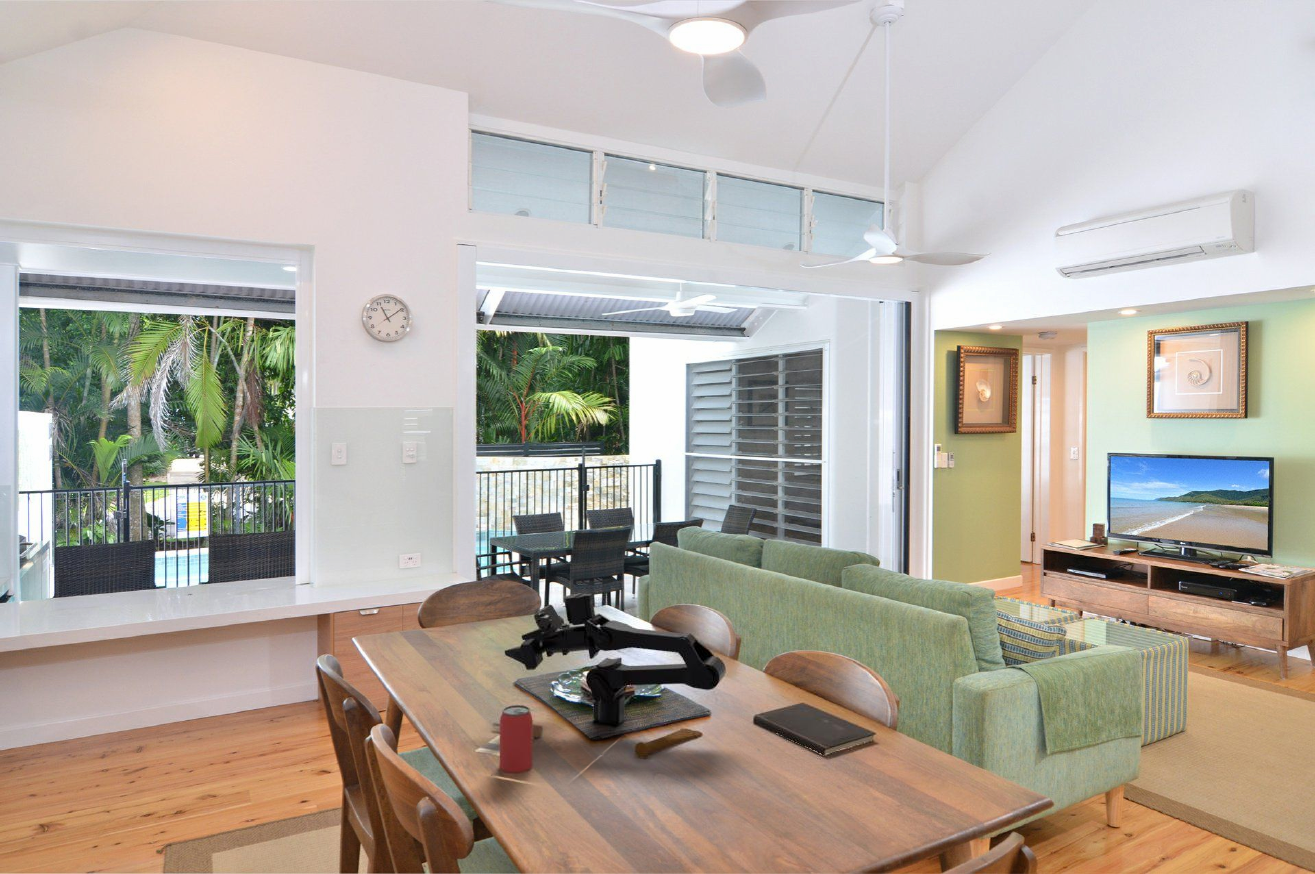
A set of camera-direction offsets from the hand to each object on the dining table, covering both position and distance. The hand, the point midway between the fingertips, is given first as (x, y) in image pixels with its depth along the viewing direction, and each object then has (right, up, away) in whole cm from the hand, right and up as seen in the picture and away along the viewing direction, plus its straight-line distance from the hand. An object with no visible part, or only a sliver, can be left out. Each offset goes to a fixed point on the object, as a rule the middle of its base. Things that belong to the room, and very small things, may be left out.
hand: (513, 645), depth 199 cm
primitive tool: (+37, -17, -19) cm, 45 cm away
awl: (+3, -16, -16) cm, 22 cm away
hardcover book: (+70, -17, -12) cm, 73 cm away
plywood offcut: (+3, -16, -20) cm, 26 cm away
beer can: (+6, -17, -33) cm, 37 cm away
